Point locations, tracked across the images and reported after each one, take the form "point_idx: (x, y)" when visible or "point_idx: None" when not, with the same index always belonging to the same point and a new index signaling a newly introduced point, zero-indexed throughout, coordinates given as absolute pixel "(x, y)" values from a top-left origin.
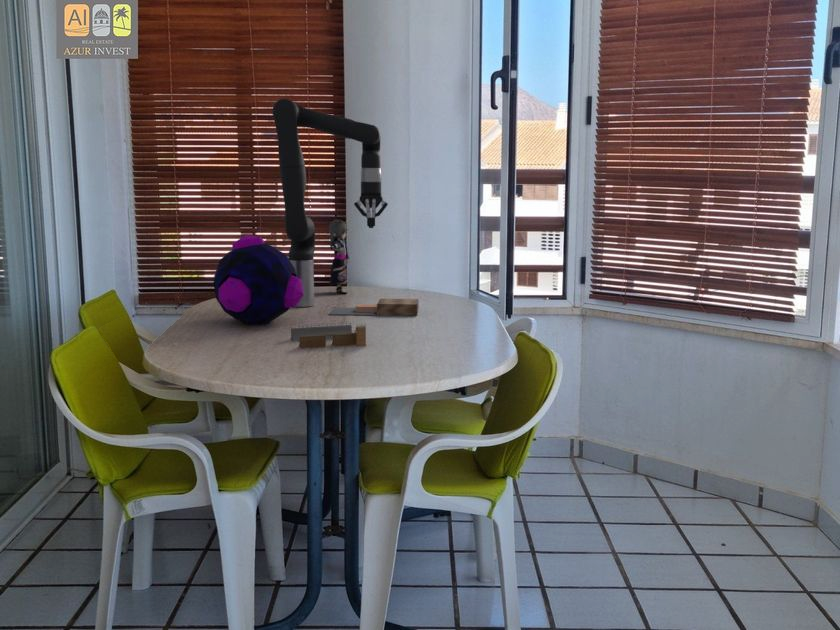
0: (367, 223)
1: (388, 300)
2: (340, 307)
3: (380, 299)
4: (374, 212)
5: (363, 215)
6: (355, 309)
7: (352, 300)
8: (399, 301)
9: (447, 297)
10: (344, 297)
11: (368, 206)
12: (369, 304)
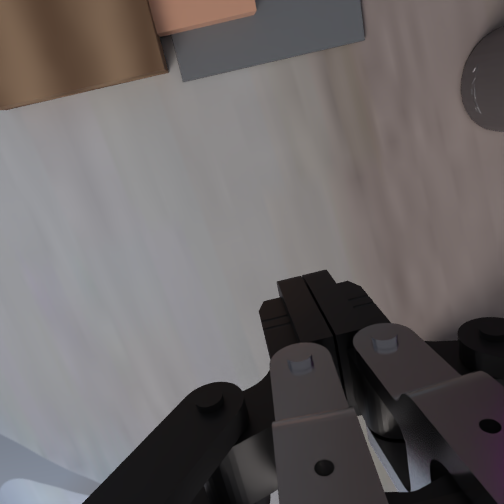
0: (364, 299)
1: (103, 20)
2: (338, 44)
3: (153, 42)
4: (287, 414)
5: (486, 323)
6: (261, 9)
7: (343, 254)
8: (38, 2)
9: (29, 419)
10: (389, 307)
11: (500, 466)
12: (197, 10)
